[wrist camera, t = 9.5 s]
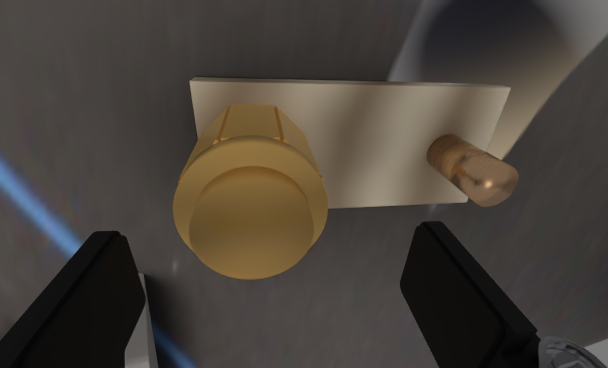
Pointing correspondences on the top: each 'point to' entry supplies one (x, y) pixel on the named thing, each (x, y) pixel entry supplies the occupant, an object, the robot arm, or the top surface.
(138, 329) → the hinge
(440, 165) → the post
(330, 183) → the plate
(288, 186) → the cap
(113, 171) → the top surface
